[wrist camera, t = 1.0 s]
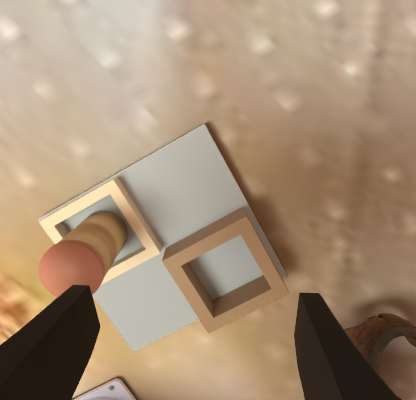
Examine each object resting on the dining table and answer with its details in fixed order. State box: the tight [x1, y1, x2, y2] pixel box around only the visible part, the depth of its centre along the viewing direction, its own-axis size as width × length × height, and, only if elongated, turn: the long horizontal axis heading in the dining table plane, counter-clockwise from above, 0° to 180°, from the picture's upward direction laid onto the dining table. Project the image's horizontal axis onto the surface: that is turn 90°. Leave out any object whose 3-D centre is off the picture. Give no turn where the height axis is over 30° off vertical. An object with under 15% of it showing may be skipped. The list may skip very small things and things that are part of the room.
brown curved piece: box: [344, 313, 416, 400], centre depth 28 cm, size 12×10×8 cm
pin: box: [39, 211, 128, 297], centre depth 23 cm, size 4×4×7 cm
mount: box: [37, 124, 289, 352], centre depth 26 cm, size 15×14×4 cm
